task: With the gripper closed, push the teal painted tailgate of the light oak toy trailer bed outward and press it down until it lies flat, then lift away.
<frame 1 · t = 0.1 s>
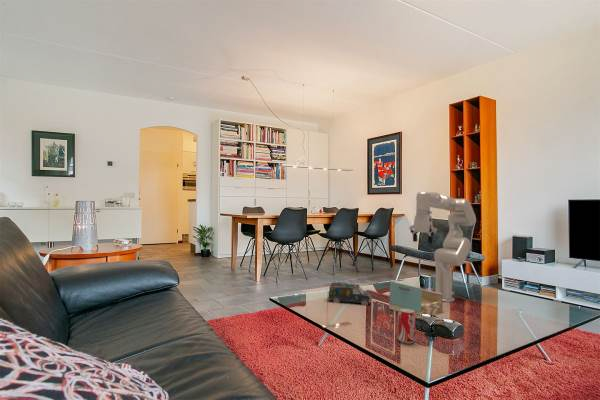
hand: (422, 242, 193), 37 cm above the table, tool pointing down, fingers open, 9 cm apart
trailer bed: (415, 310, 182), on the table
toy van: (349, 302, 196), on the table
tailgate: (404, 296, 176), point 9 cm above the table, hinge at 0.0°
soda can: (406, 341, 139), on the table
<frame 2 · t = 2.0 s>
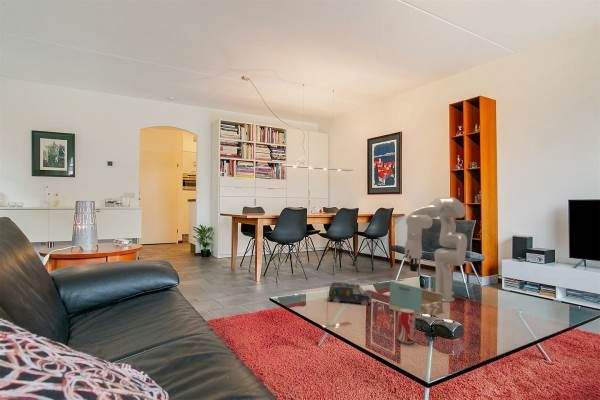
hand: (413, 271, 181), 22 cm above the table, tool pointing down, fingers closed
nothing on the table moved.
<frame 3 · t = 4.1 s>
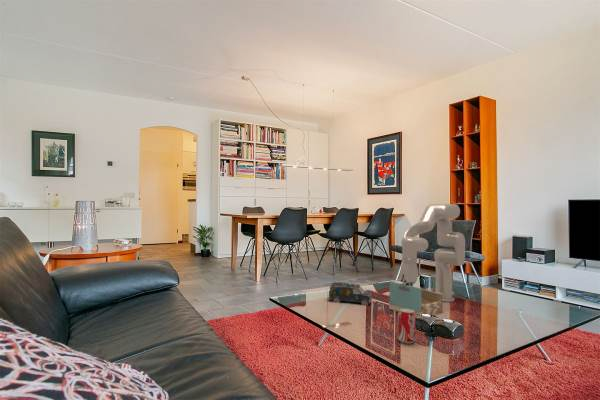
hand: (408, 295, 178), 9 cm above the table, tool pointing down, fingers closed
tailgate: (404, 296, 176), point 9 cm above the table, hinge at 2.0°, touching gripper
everything else where it was.
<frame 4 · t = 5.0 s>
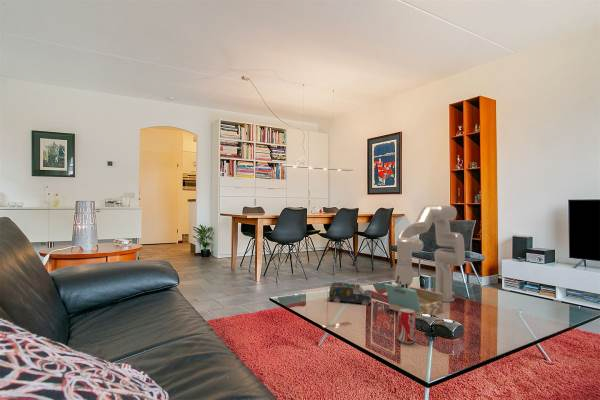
hand: (404, 296, 176), 9 cm above the table, tool pointing down, fingers closed
tailgate: (401, 297, 175), point 9 cm above the table, hinge at 23.7°, touching gripper
everything else where it was.
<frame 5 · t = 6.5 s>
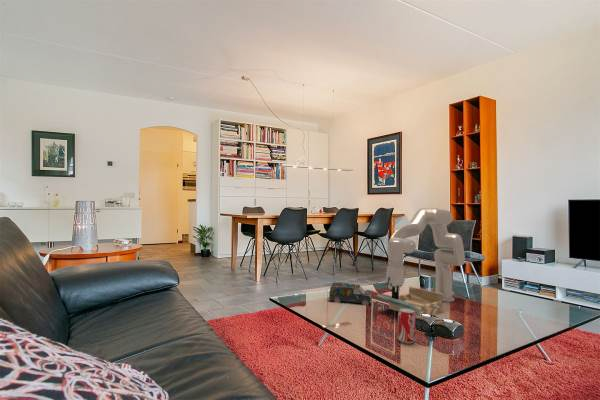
hand: (395, 298, 171), 9 cm above the table, tool pointing down, fingers closed
tailgate: (398, 303, 173), point 6 cm above the table, hinge at 63.3°, touching gripper
everything else where it was.
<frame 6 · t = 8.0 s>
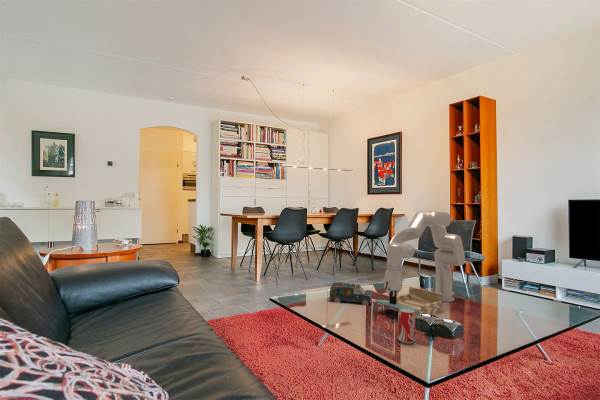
hand: (392, 303, 170), 7 cm above the table, tool pointing down, fingers closed
tailgate: (397, 306, 172), point 5 cm above the table, hinge at 78.1°, touching gripper
everything else where it was.
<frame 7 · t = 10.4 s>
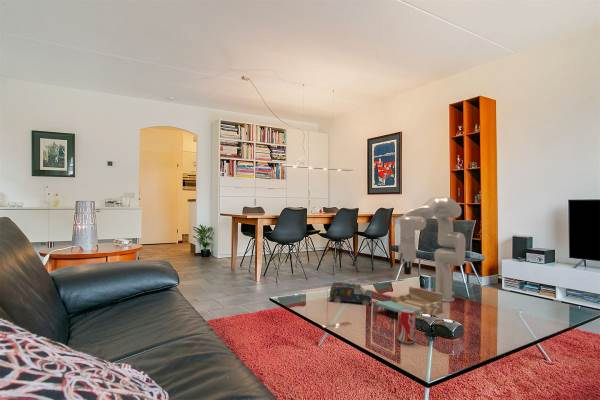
hand: (407, 274, 178), 21 cm above the table, tool pointing down, fingers closed
tailgate: (397, 307, 172), point 4 cm above the table, hinge at 85.4°
everything else where it was.
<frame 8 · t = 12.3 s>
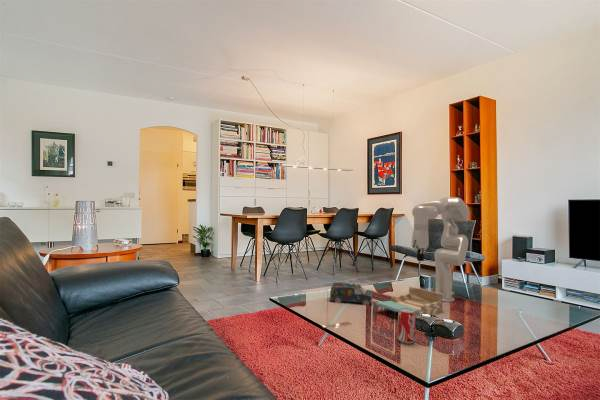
hand: (420, 260, 185), 27 cm above the table, tool pointing down, fingers closed
at the end: tailgate at +85° (first picture: +0°) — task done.
